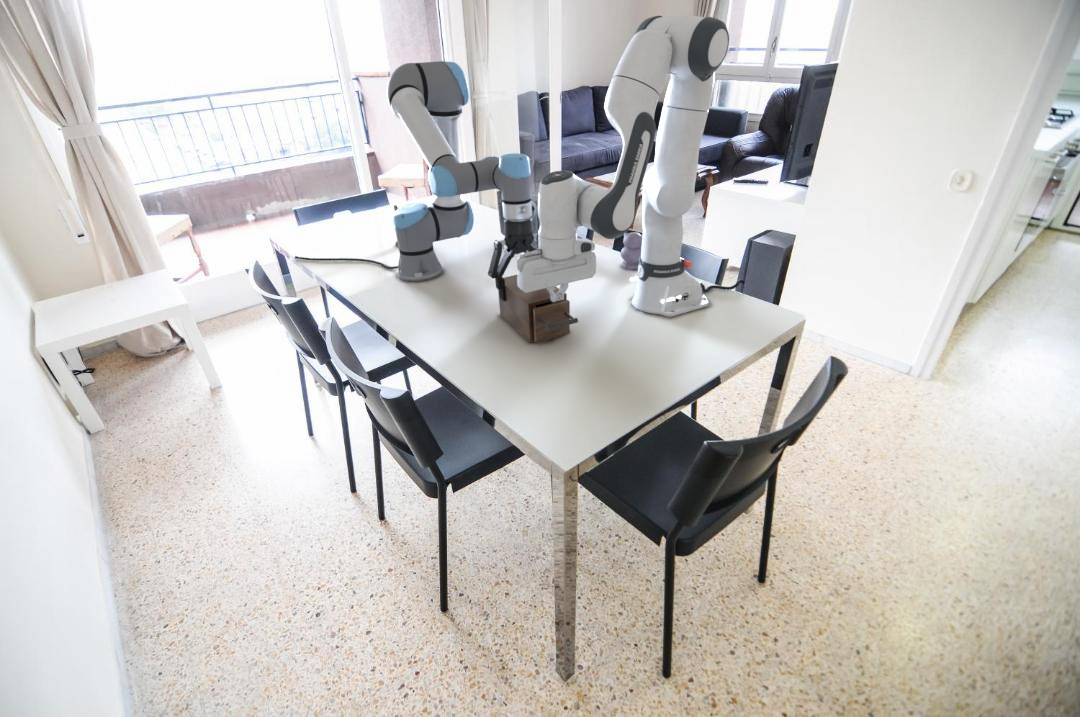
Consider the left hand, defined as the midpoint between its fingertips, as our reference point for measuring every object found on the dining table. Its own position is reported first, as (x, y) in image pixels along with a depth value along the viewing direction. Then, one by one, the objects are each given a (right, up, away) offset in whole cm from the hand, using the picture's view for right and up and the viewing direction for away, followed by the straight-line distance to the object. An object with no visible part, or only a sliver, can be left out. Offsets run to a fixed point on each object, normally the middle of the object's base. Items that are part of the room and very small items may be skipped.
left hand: (522, 294), depth 141 cm
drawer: (+6, -10, -6) cm, 13 cm away
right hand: (+9, -4, -19) cm, 22 cm away
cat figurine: (+38, +14, +34) cm, 52 cm away
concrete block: (0, +27, +58) cm, 64 cm away
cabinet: (+3, -8, -1) cm, 9 cm away
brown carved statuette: (-49, +30, +64) cm, 86 cm away
